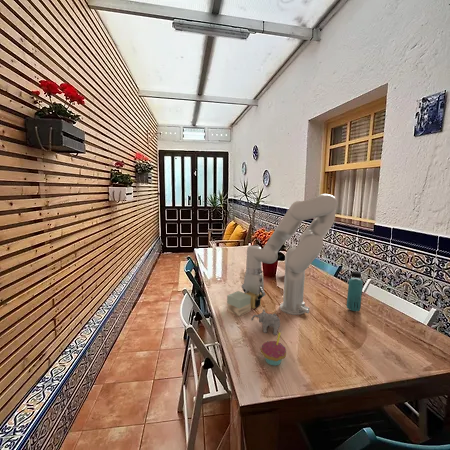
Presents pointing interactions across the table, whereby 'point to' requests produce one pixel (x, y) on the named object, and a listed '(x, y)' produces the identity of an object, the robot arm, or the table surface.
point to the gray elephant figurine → (268, 321)
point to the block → (253, 299)
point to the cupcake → (273, 351)
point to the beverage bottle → (354, 292)
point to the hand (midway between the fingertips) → (252, 303)
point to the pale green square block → (238, 299)
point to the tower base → (239, 311)
